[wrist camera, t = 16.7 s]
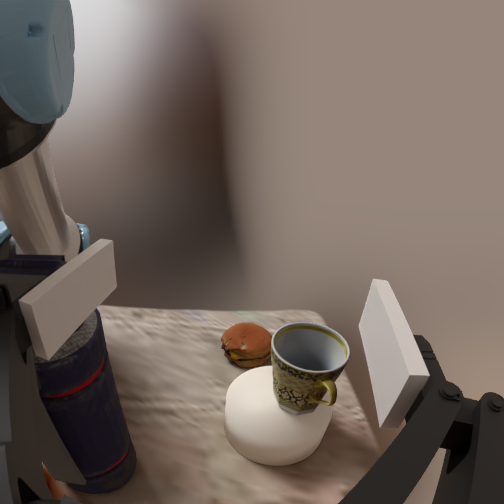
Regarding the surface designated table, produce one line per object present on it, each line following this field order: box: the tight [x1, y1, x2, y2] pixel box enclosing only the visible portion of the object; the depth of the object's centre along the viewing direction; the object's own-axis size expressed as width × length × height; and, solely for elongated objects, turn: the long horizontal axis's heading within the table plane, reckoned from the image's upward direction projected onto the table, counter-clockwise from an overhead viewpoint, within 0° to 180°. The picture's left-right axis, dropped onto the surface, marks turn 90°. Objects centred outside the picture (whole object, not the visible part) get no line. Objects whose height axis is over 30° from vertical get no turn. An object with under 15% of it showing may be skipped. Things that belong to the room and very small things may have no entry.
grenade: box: [0, 254, 136, 494], centre depth 26 cm, size 14×12×30 cm
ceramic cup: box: [271, 322, 350, 415], centre depth 39 cm, size 13×10×10 cm
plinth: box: [224, 366, 333, 466], centre depth 43 cm, size 15×15×6 cm
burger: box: [221, 323, 272, 368], centre depth 59 cm, size 10×9×5 cm
